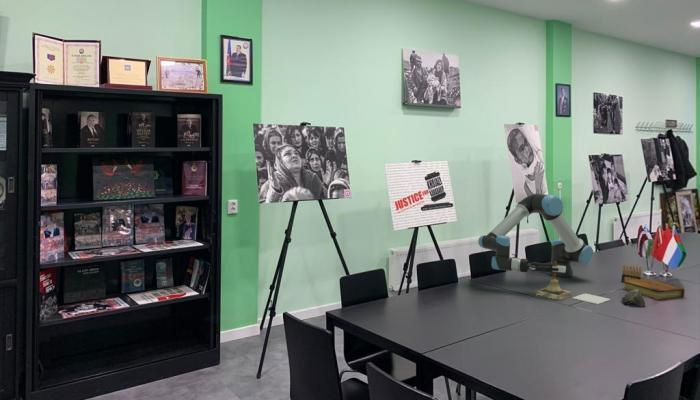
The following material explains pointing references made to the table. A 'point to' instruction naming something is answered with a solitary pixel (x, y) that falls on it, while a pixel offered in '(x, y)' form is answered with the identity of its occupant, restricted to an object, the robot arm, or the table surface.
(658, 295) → the diary
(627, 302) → the fossil
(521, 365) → the table surface
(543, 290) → the bell cradle
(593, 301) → the mat
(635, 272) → the ammunition clip
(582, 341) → the table surface
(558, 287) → the hand bell
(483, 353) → the table surface
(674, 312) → the table surface
